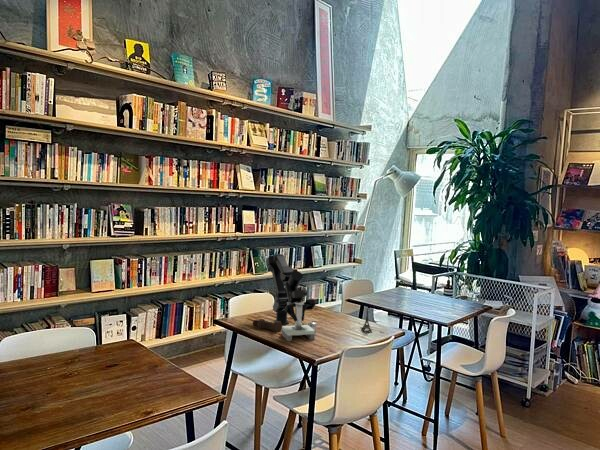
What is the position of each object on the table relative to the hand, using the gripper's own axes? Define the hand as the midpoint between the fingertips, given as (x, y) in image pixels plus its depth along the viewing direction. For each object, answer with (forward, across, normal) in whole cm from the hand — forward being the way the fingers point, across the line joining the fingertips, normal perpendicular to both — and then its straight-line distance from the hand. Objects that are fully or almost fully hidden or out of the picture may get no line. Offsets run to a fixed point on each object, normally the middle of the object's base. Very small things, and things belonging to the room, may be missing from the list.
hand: (299, 320), depth 204 cm
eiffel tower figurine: (+4, +37, +8) cm, 38 cm away
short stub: (+2, +9, +10) cm, 14 cm away
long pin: (+4, 0, +6) cm, 7 cm away
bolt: (-6, -11, +18) cm, 22 cm away
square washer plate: (+5, 0, +7) cm, 8 cm away
